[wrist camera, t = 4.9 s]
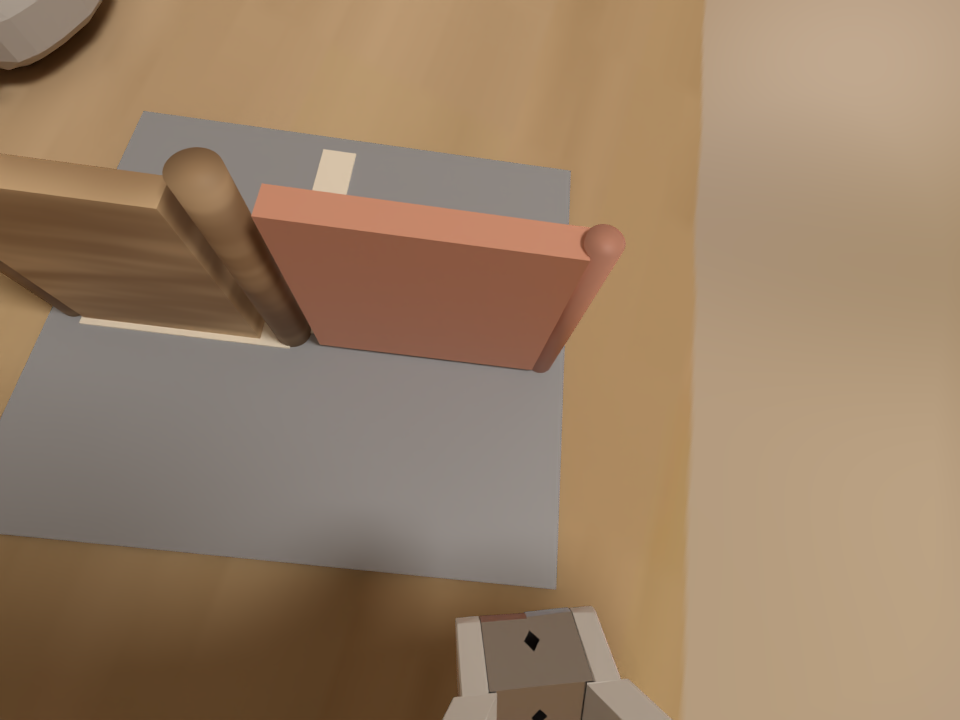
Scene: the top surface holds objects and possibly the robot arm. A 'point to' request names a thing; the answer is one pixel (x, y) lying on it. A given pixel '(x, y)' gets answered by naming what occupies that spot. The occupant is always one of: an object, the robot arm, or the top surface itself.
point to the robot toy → (39, 27)
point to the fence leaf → (434, 276)
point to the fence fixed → (144, 246)
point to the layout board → (295, 406)
